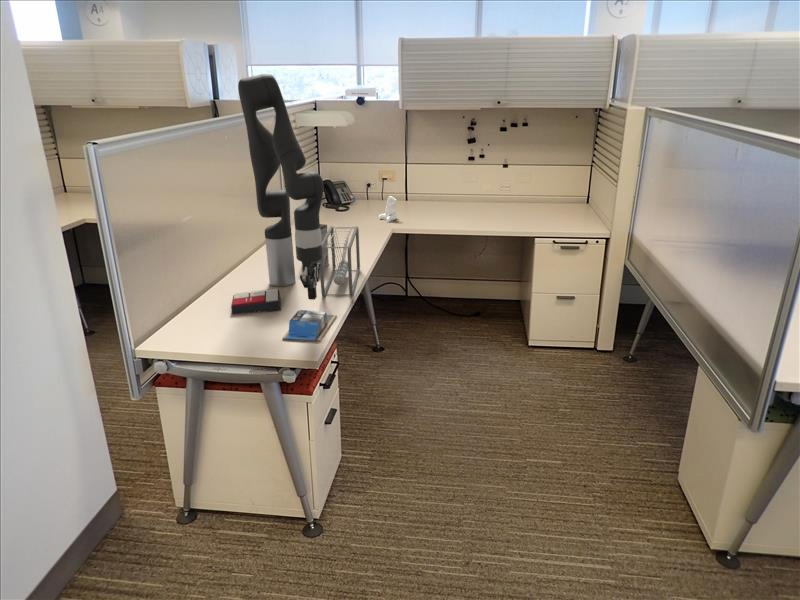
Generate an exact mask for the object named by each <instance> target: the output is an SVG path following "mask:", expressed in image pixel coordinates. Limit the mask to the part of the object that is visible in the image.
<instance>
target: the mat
mask: <svg viewBox="0 0 800 600" xmlns="http://www.w3.org/2000/svg"><path fill="white" fill-rule="evenodd" d="M335 318H337V314H327V324H326V325H325V327H324V328H323V329H322V331H321V332H320V333H319V335H318V336H317V338H316V339H315V340H303V339H289V338H286V337H287V336H288V335H289V329H288V330H287V331H286V333H285V334H284V335H283V336H282V341H291V342H294V341H295V342H305V343H306V342H308V343H309V342H310V343H321V342H322V340H323V339H324V337H325V336H326V334H327V332H328V331H329V329H330V328H331V326H332V325H333V323H334V322H335V320H336V319H335ZM333 321H334V322H333ZM297 337H301V338H302V337H306V336H297Z"/></svg>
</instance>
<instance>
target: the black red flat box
mask: <svg viewBox="0 0 800 600" xmlns="http://www.w3.org/2000/svg"><path fill="white" fill-rule="evenodd" d="M281 302H282V301H281V293H280V289H278V288H274V289H273V288H272V289H267V290H265V289H260V290H253V291H250V292H249V291H246V292H236V293H234V294H233V297H232V300H231V306H230V309H231V314H232V315H243V314H252V313H253V314H254V313H255V314H256V313H262V312H266V313H267V312H277V311H281V310H282V307H281Z"/></svg>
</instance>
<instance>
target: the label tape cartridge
mask: <svg viewBox="0 0 800 600" xmlns="http://www.w3.org/2000/svg"><path fill="white" fill-rule="evenodd" d="M327 315H328V313H327V311H323V310H306V309H299V310H297V311H296V312H295V313H294V315H293V316H292V317H291V318H290V320H289V322H288V330H289V335H288V336H287V337H286V338H289V339H303V340H315V339H316V338H317V336H318V335H319V333H320V332H321V331H322V329H323V328H324V327H325V325H326V324H327ZM297 336H306V337H302V338H301V337H297Z"/></svg>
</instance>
